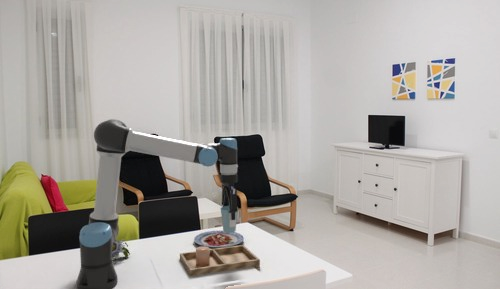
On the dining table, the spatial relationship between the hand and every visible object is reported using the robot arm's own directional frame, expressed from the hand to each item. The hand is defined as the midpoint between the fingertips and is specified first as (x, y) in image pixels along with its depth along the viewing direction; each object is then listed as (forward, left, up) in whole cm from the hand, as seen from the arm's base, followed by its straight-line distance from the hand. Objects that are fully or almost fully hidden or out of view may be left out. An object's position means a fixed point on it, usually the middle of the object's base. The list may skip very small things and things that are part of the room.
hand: (229, 224), depth 181 cm
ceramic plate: (+4, +29, -19) cm, 35 cm away
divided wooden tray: (-5, +1, -18) cm, 19 cm away
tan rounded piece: (-12, +1, -17) cm, 21 cm away
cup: (0, 0, -3) cm, 3 cm away
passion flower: (-47, +25, -18) cm, 57 cm away
